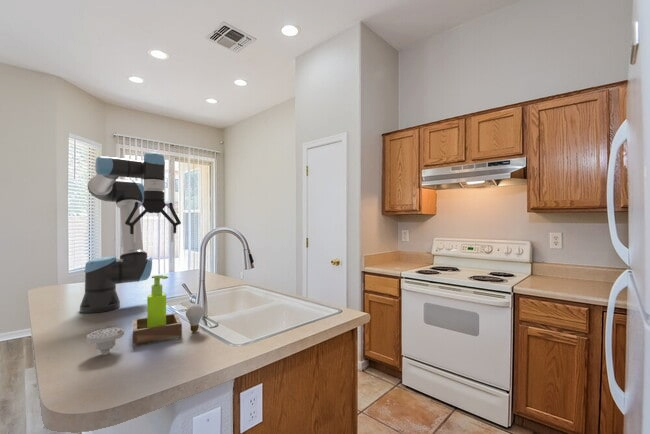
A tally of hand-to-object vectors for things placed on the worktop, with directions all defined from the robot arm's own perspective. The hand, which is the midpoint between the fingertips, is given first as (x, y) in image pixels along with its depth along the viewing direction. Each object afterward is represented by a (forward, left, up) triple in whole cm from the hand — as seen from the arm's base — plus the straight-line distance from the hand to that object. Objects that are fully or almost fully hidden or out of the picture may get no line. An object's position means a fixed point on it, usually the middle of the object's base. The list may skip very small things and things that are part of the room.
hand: (153, 242), depth 130 cm
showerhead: (+31, -14, -32) cm, 47 cm away
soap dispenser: (+22, 0, -31) cm, 38 cm away
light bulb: (+25, +12, -32) cm, 42 cm away
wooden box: (+22, 0, -32) cm, 39 cm away
